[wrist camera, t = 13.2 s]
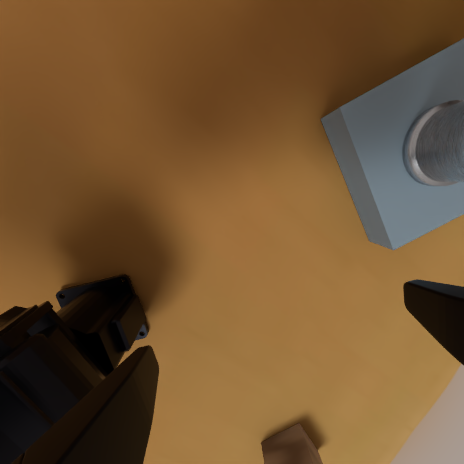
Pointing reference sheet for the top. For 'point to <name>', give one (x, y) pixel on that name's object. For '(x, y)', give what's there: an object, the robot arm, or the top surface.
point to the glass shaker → (436, 145)
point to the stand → (396, 150)
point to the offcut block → (290, 448)
